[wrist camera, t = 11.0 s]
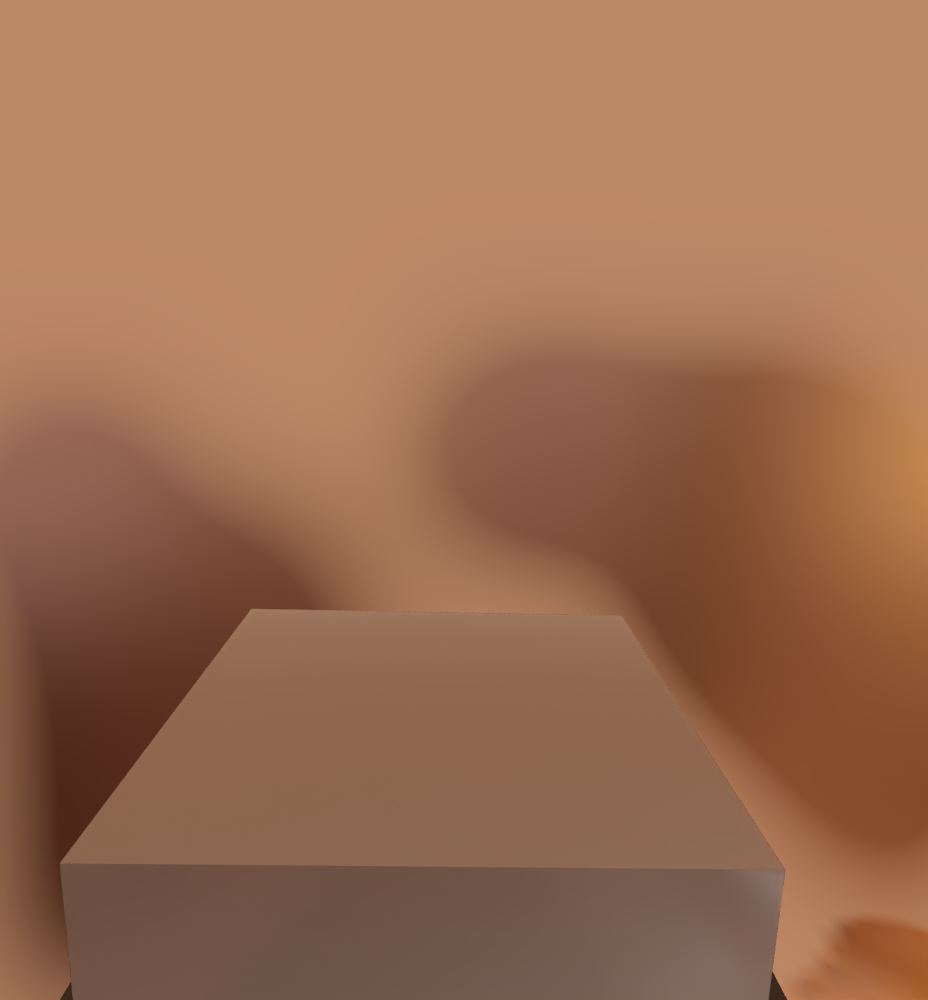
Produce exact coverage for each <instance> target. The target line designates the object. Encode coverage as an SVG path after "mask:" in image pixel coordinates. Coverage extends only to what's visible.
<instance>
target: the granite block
mask: <svg viewBox="0 0 928 1000" xmlns="http://www.w3.org/2000/svg"><path fill="white" fill-rule="evenodd" d="M60 870H61V881H62V892H63V902H64V912H65V921H66V922H65V923H66V933H67V944H68V953H69V965H70V974H71V985H72V996H73V1000H769V992H770V984H771V976H772V968H773V961H774V953H775V946H776V938H777V930H778V922H779V914H780V907H781V898H782V891H783V883H784V876H785V869H784V867H783V866H782V864H781V862H780V861H779V859H778V858H777V856H776V855H775V853H774V852H773V850H772V849H771V847H770V845H769V844H768V842H767V841H766V839H765V837H764V836H763V834H762V833H761V832H760V830H759V828H758V827H757V825H756V824H755V822H754V820H753V819H752V817H751V816H750V814H749V813H748V811H747V810H746V808H745V806H744V805H743V803H742V802H741V800H740V799H739V797H738V796H737V794H736V792H735V791H734V789H733V788H732V786H731V785H730V783H729V782H728V780H727V779H726V777H725V776H724V774H723V772H722V771H721V769H720V768H719V766H718V765H717V763H716V762H715V760H714V758H713V757H712V755H711V754H710V752H709V751H708V749H707V748H706V746H705V744H704V743H703V741H702V740H701V738H700V737H699V735H698V734H697V732H696V730H695V729H694V727H693V726H692V724H691V723H690V721H689V720H688V718H687V717H686V715H685V713H684V712H683V710H682V709H681V707H680V706H679V704H678V702H677V701H676V699H675V698H674V696H673V695H672V693H671V692H670V690H669V688H668V687H667V685H666V684H665V682H664V681H663V679H662V678H661V676H660V675H659V673H658V671H657V670H656V668H655V667H654V665H653V664H652V662H651V661H650V659H649V657H648V656H647V654H646V653H645V651H644V650H643V648H642V647H641V645H640V644H639V642H638V640H637V639H636V637H635V636H634V634H633V633H632V631H631V630H630V628H629V627H628V625H627V623H626V622H625V620H624V619H623V617H622V616H621V615H619V616H618V615H568V614H511V613H508V614H507V613H452V612H397V611H339V610H281V609H280V610H279V609H278V610H277V609H251V610H250V612H249V613H248V614H247V616H246V617H245V618H244V620H243V621H242V622H241V624H240V625H239V626H238V628H237V629H236V630H235V632H234V633H233V634H232V636H231V637H230V638H229V639H228V641H227V642H226V644H225V645H224V646H223V647H222V649H221V650H220V651H219V653H218V654H217V655H216V657H215V658H214V659H213V661H212V662H211V663H210V665H209V666H208V667H207V669H206V670H205V671H204V673H203V674H202V675H201V677H200V678H199V679H198V681H197V682H196V683H195V685H194V686H193V687H192V689H191V690H190V691H189V693H188V694H187V695H186V697H185V698H184V699H183V701H182V702H181V703H180V705H179V706H178V707H177V708H176V710H175V711H174V712H173V714H172V715H171V716H170V718H169V719H168V721H167V722H166V723H165V725H164V726H163V727H162V729H161V730H160V731H159V732H158V734H157V735H156V736H155V738H154V739H153V740H152V742H151V743H150V744H149V746H148V747H147V748H146V750H145V751H144V752H143V754H142V755H141V756H140V758H139V759H138V760H137V762H136V763H135V764H134V766H133V767H132V768H131V770H130V771H129V772H128V774H127V775H126V776H125V778H124V779H123V780H122V782H121V783H120V784H119V786H118V787H117V788H116V790H115V791H114V792H113V793H112V795H111V796H110V798H109V799H108V800H107V801H106V803H105V804H104V805H103V807H102V808H101V809H100V811H99V812H98V813H97V815H96V816H95V817H94V819H93V820H92V821H91V823H90V824H89V825H88V827H87V828H86V829H85V831H84V832H83V833H82V835H81V836H80V837H79V839H78V840H77V841H76V843H75V844H74V845H73V847H72V848H71V849H70V851H69V852H68V853H67V855H66V856H65V857H64V859H63V860H62V861H61V862H60Z"/></svg>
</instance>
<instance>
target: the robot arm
mask: <svg viewBox="0 0 928 1000" xmlns="http://www.w3.org/2000/svg"><path fill="white" fill-rule="evenodd" d="M61 1000H73V996H72V985H71V983H70V984H69V986H68V988H67V989H66V991H65V993H64V994H63V996H62V998H61ZM769 1000H787V999H786V997H785V995H784V993H783V991H782V989H781V987H780V985H779V983H778V981H777V979H776V978H775V976H774V974H773V972H772V976H771V984H770V992H769Z"/></svg>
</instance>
